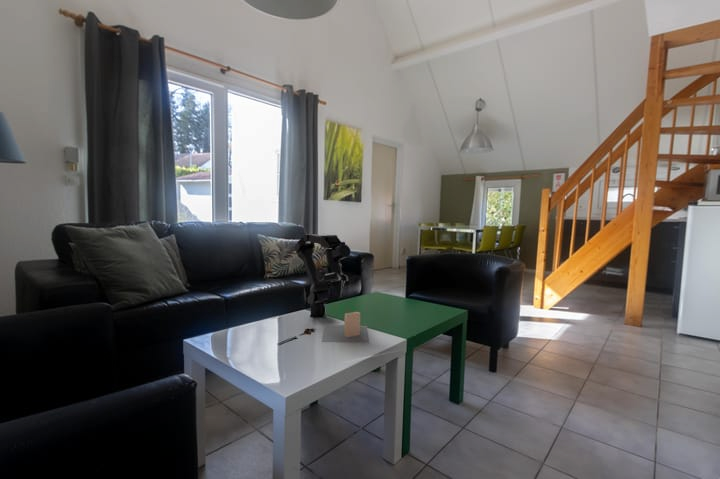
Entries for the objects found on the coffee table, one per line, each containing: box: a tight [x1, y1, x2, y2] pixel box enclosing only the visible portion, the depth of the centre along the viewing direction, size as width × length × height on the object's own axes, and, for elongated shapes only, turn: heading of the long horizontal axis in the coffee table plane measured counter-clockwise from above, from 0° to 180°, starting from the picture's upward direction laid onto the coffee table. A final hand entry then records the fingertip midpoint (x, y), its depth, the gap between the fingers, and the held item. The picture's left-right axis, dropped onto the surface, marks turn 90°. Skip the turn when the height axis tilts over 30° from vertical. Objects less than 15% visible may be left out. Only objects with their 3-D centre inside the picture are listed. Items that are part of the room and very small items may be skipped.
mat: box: [321, 324, 370, 344], centre depth 142 cm, size 18×20×1 cm
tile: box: [343, 311, 361, 337], centre depth 139 cm, size 2×6×9 cm, turn 121°
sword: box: [276, 327, 316, 346], centre depth 135 cm, size 25×4×2 cm, turn 145°
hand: (339, 297), depth 152 cm, fingers closed
